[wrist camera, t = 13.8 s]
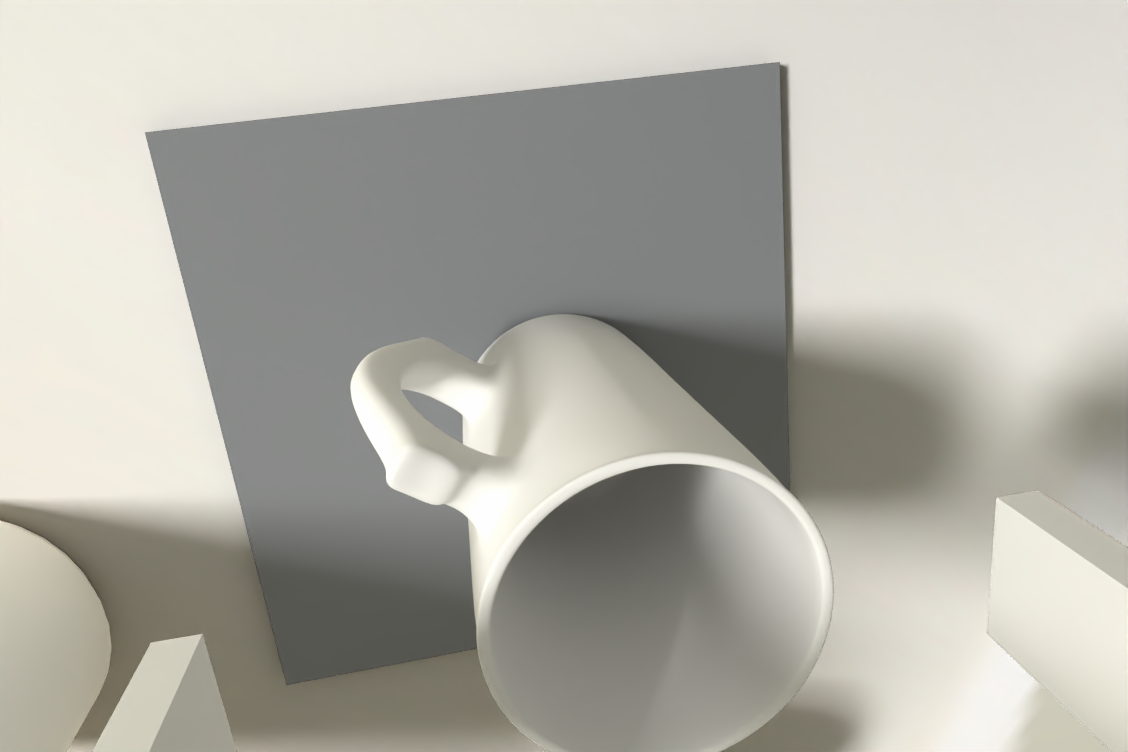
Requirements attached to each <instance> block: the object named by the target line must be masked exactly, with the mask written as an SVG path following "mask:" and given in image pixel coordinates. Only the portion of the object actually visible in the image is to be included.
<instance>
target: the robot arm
mask: <svg viewBox="0 0 1128 752" xmlns="http://www.w3.org/2000/svg"><path fill="white" fill-rule="evenodd" d="M987 634H988V635H989V636H990V637H991V638H992V639H993V640H994V641H995V642H996V643H997V644H998V645H999V646H1000V647H1001V648H1003V649H1004V650H1005V651H1006V652H1007V653H1008V654H1009V655H1010V656H1011V657H1012V658H1013V659H1014V660H1015V661H1016V662H1017V663H1018V664H1019V665H1020V666H1021V667H1022V668H1023V669H1024V670H1025V671H1027V672H1028V673H1029V674H1030V675H1031V676H1032V677H1033V678H1034V679H1035V680H1036V681H1037V682H1038V683H1039V684H1040V685H1041V686H1042V687H1043V688H1044V689H1045V690H1046V691H1047V692H1048V693H1050V694H1051V695H1052V696H1053V697H1054V698H1055V699H1056V700H1057V701H1058V702H1059V703H1060V704H1061V705H1062V706H1063V707H1064V708H1065V709H1066V710H1067V711H1068V712H1069V713H1070V714H1072V715H1073V717H1075V718H1076V719H1077V720H1078V721H1079V722H1080V723H1081V724H1082V725H1083V726H1084V727H1085V728H1086V729H1087V730H1088V731H1090V733H1091V734H1092V735H1093V736H1094V737H1095V738H1096V739H1098V740H1099V741H1100V742H1101V743H1102V744H1103V745H1104V746H1105V747H1106V748H1107V749H1108V750H1109V751H1110V752H1128V547H1127V546H1125V545H1124V544H1122V543H1121V542H1119V541H1117V540H1116V539H1114V538H1113V537H1111V536H1110V535H1108V534H1106V533H1105V532H1103V531H1102V530H1100V529H1099V528H1097V527H1095V526H1094V525H1092V524H1091V523H1089V522H1088V521H1086V520H1084V519H1083V518H1081V517H1080V516H1078V515H1077V514H1075V513H1073V512H1072V511H1070V510H1069V509H1067V508H1066V507H1064V506H1062V505H1061V504H1059V503H1058V502H1056V501H1055V500H1053V499H1051V498H1050V497H1048V496H1047V495H1045V494H1044V493H1042V492H1040V491H1039V490H1035V491H1029V492H1023V493H1018V494H1012V495H1006V496H1000V497H996V510H995V524H994V538H993V553H992V567H991V581H990V596H989V610H988V624H987ZM92 752H237V750H236V746H235V743H234V739H233V736H232V732H231V729H230V726H229V722H228V719H227V715H226V712H225V709H224V705H223V702H222V698H221V695H220V692H219V688H218V685H217V681H216V678H215V674H214V671H213V668H212V664H211V661H210V657H209V654H208V651H207V647H206V644H205V640H204V637H203V634H198V635H192V636H186V637H180V638H174V639H169V640H163V641H157V642H151V643H150V645H149V647H148V649H147V651H146V653H145V655H144V656H143V658H142V660H141V662H140V664H139V666H138V667H137V669H136V671H135V673H134V675H133V677H132V679H131V680H130V682H129V684H128V686H127V688H126V690H125V691H124V693H123V695H122V697H121V699H120V701H119V703H118V704H117V706H116V708H115V710H114V712H113V714H112V715H111V717H110V719H109V721H108V723H107V725H106V727H105V728H104V730H103V732H102V734H101V736H100V738H99V739H98V741H97V743H96V745H95V747H94V749H93V751H92Z"/></svg>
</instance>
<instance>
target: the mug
mask: <svg viewBox="0 0 1128 752" xmlns="http://www.w3.org/2000/svg"><path fill="white" fill-rule="evenodd" d="M350 389H351V397H352V402H353V405H354V408H355V411H356V414H357V416H358V418H359V420H360V423H361V425H362V427H363V429H364V431H365V432H366V434H367V436H368V438H369V440H370V441H371V443H372V445H373V446H374V448H375V450H376V451H377V453H378V455H379V456H380V458H381V460H382V462H383V464H384V466H385V469H386V481H387V483H388V485H389V486H390V487H391V488H393V489H395V490H397V491H399V492H402V493H404V494H407V495H409V496H411V497H414V498H416V499H418V500H421V501H423V502H426V503H429V504H433V505H441V504H446V505H448V506H451V507H453V508H455V509H457V510H458V511H460V512H462V513H463V514H464V515H465V516H466V517H468V524H469V540H470V557H471V573H472V587H473V600H474V612H475V621H476V637H477V649H478V656H479V661H480V665H481V669H482V672H483V675H484V678H485V681H486V683H487V686H488V688H489V690H490V692H491V694H492V696H493V698H494V700H495V701H496V703H497V705H498V706H499V708H500V709H501V711H502V712H503V713H504V715H505V716H506V717H507V718H508V719H509V721H510V722H511V723H512V724H513V725H514V726H515V727H516V728H517V729H518V730H519V731H520V732H521V733H522V734H524V735H525V736H526V737H527V738H529V739H530V740H531V741H533V742H534V743H535V744H537V745H538V746H540V747H542V748H543V749H545V750H547V751H548V752H721V751H723V750H725V749H727V748H729V747H731V746H733V745H734V744H736V743H738V742H740V741H741V740H743V739H745V738H746V737H748V736H749V735H751V734H752V733H754V732H755V731H757V730H758V729H759V728H761V727H762V726H763V725H765V724H766V723H767V722H768V721H769V720H771V719H772V718H773V717H774V716H775V715H776V714H777V713H778V712H779V711H781V710H782V709H783V708H784V707H785V706H786V704H787V703H788V702H789V701H790V700H791V699H792V698H793V697H794V696H795V694H796V693H797V692H798V691H799V689H800V688H801V686H802V685H803V684H804V682H805V681H806V679H807V678H808V676H809V674H810V673H811V671H812V669H813V667H814V665H815V663H816V661H817V659H818V657H819V655H820V653H821V650H822V648H823V645H824V642H825V639H826V636H827V633H828V629H829V625H830V621H831V615H832V608H833V593H834V588H833V574H832V567H831V563H830V558H829V554H828V551H827V548H826V545H825V542H824V540H823V538H822V535H821V533H820V531H819V529H818V527H817V526H816V524H815V522H814V521H813V519H812V517H811V516H810V514H809V513H808V512H807V510H806V509H805V508H804V506H803V505H802V504H801V503H800V502H799V501H798V499H797V498H796V497H795V496H794V495H793V494H792V493H791V492H789V491H788V490H787V489H786V488H785V487H784V486H783V485H782V484H781V483H780V482H779V481H778V479H777V478H776V477H775V476H774V475H773V474H772V473H771V472H770V471H769V470H768V469H767V468H766V467H765V466H764V465H763V464H762V463H761V462H760V461H759V460H758V459H757V458H756V457H755V456H754V455H753V454H752V453H751V452H750V451H749V450H748V449H747V448H746V447H745V446H744V445H742V444H741V443H740V442H739V441H738V440H737V439H736V438H735V437H734V436H733V435H732V434H731V433H730V432H729V431H728V430H726V429H725V428H724V427H723V426H722V425H721V424H720V423H719V422H718V421H717V420H716V419H715V418H714V417H713V416H712V415H710V414H709V413H708V412H707V411H706V410H705V409H704V408H703V407H702V406H701V405H700V404H699V403H698V402H697V401H695V400H694V399H693V398H692V397H691V396H690V395H689V394H688V393H687V392H686V391H685V390H684V389H683V388H682V387H681V386H680V385H678V384H677V383H676V382H675V381H674V380H673V379H672V378H671V377H670V376H669V375H668V374H667V373H666V372H665V371H664V370H663V369H662V368H661V367H660V366H659V365H658V364H657V363H656V362H655V361H654V360H653V359H651V358H650V357H649V356H648V355H647V354H646V353H645V352H644V351H643V350H642V349H641V348H639V347H638V346H637V345H636V344H635V343H633V342H632V341H631V340H630V339H629V338H627V337H626V336H625V335H624V334H622V333H621V332H620V331H618V330H617V329H615V328H614V327H612V326H610V325H608V324H606V323H604V322H602V321H599V320H596V319H593V318H590V317H586V316H581V315H573V314H555V315H547V316H542V317H538V318H534V319H531V320H528V321H526V322H523V323H521V324H519V325H517V326H515V327H513V328H512V329H510V330H508V331H507V332H505V333H504V334H503V335H501V336H500V337H499V338H498V339H496V340H495V341H494V342H493V343H492V344H491V345H490V346H489V347H488V348H487V349H486V351H485V352H484V353H483V354H482V356H481V357H480V358H479V360H478V361H477V362H475V361H473V360H471V359H469V358H467V357H465V356H463V355H461V354H460V353H458V352H456V351H454V350H452V349H451V348H449V347H447V346H445V345H444V344H442V343H440V342H438V341H436V340H433V339H431V338H425V337H422V338H418V339H414V340H410V341H405V342H401V343H397V344H392V345H388V346H385V347H382V348H379V349H377V350H375V351H373V352H371V353H370V354H368V355H367V356H366V357H365V358H364V359H363V360H362V361H361V362H360V364H359V365H358V367H357V368H356V370H355V372H354V374H353V377H352V380H351V387H350ZM402 390H410V391H415V392H419V393H422V394H425V395H427V396H430V397H432V398H434V399H436V400H438V401H440V402H442V403H444V404H446V405H448V406H450V407H452V408H453V409H455V410H457V411H458V412H459V413H460V414H462V416H463V444H462V443H461V442H459V441H457V440H455V439H454V438H452V437H450V436H448V435H447V434H445V433H444V432H443V431H441V430H440V429H438V428H437V427H436V426H434V425H433V424H431V423H430V422H429V421H428V420H427V419H425V418H424V417H423V416H422V415H421V414H420V413H419V412H418V411H417V410H416V409H415V408H414V407H413V406H412V405H411V404H410V403H409V401H408V400H407V399H406V397H405V396H404V394H403V392H402Z"/></svg>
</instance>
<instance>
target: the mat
mask: <svg viewBox="0 0 1128 752" xmlns="http://www.w3.org/2000/svg"><path fill="white" fill-rule="evenodd" d="M145 135H146V138H147V142H148V146H149V150H150V154H151V158H152V162H153V166H154V170H155V173H156V177H157V181H158V185H159V189H160V193H161V197H162V201H163V205H164V209H165V212H166V216H167V220H168V224H169V228H170V232H171V236H172V240H173V244H174V248H175V251H176V255H177V259H178V263H179V267H180V271H181V275H182V279H183V283H184V287H185V290H186V294H187V298H188V302H189V306H190V310H191V314H192V318H193V322H194V326H195V329H196V333H197V337H198V341H199V345H200V349H201V353H202V357H203V361H204V365H205V368H206V372H207V376H208V380H209V384H210V388H211V392H212V396H213V400H214V403H215V407H216V411H217V415H218V419H219V423H220V427H221V431H222V435H223V439H224V442H225V446H226V450H227V454H228V458H229V462H230V466H231V470H232V474H233V478H234V481H235V485H236V489H237V493H238V497H239V501H240V505H241V509H242V513H243V517H244V520H245V524H246V528H247V532H248V536H249V540H250V544H251V548H252V552H253V556H254V559H255V563H256V567H257V571H258V575H259V579H260V583H261V587H262V591H263V595H264V598H265V602H266V606H267V610H268V614H269V618H270V622H271V626H272V630H273V633H274V637H275V641H276V645H277V649H278V653H279V657H280V661H281V665H282V669H283V672H284V676H285V680H286V684H287V685H289V684H294V683H299V682H305V681H310V680H315V679H320V678H325V677H331V676H336V675H341V674H346V673H352V672H357V671H362V670H367V669H373V668H378V667H383V666H388V665H393V664H399V663H404V662H409V661H414V660H420V659H425V658H430V657H435V656H440V655H446V654H451V653H456V652H461V651H467V650H472V649H477V637H476V621H475V612H474V600H473V587H472V573H471V557H470V540H469V524H468V517H466V516H465V515H464V514H463V513H462V512H460V511H458V510H457V509H455V508H453V507H451V506H448V505H446V504H441V505H433V504H429V503H426V502H423V501H421V500H418V499H416V498H414V497H411V496H409V495H407V494H404V493H402V492H399V491H397V490H395V489H393V488H391V487H390V486H389V485H388V483H387V481H386V469H385V466H384V464H383V462H382V460H381V458H380V456H379V455H378V453H377V451H376V450H375V448H374V446H373V445H372V443H371V441H370V440H369V438H368V436H367V434H366V432H365V431H364V429H363V427H362V425H361V423H360V420H359V418H358V416H357V414H356V411H355V408H354V405H353V402H352V397H351V389H350V387H351V380H352V377H353V374H354V372H355V370H356V368H357V367H358V365H359V364H360V362H361V361H362V360H363V359H364V358H365V357H366V356H367V355H368V354H370V353H371V352H373V351H375V350H377V349H379V348H382V347H385V346H388V345H392V344H397V343H401V342H405V341H410V340H414V339H418V338H422V337H425V338H431V339H433V340H436V341H438V342H440V343H442V344H444V345H445V346H447V347H449V348H451V349H452V350H454V351H456V352H458V353H460V354H461V355H463V356H465V357H467V358H469V359H471V360H473V361H475V362H477V361H478V360H479V358H480V357H481V356H482V354H483V353H484V352H485V351H486V349H487V348H488V347H489V346H490V345H491V344H492V343H493V342H494V341H495V340H496V339H498V338H499V337H500V336H501V335H503V334H504V333H505V332H507V331H508V330H510V329H512V328H513V327H515V326H517V325H519V324H521V323H523V322H526V321H528V320H531V319H534V318H538V317H542V316H547V315H555V314H573V315H581V316H586V317H590V318H593V319H596V320H599V321H602V322H604V323H606V324H608V325H610V326H612V327H614V328H615V329H617V330H618V331H620V332H621V333H622V334H624V335H625V336H626V337H627V338H629V339H630V340H631V341H632V342H633V343H635V344H636V345H637V346H638V347H639V348H641V349H642V350H643V351H644V352H645V353H646V354H647V355H648V356H649V357H650V358H651V359H653V360H654V361H655V362H656V363H657V364H658V365H659V366H660V367H661V368H662V369H663V370H664V371H665V372H666V373H667V374H668V375H669V376H670V377H671V378H672V379H673V380H674V381H675V382H676V383H677V384H678V385H680V386H681V387H682V388H683V389H684V390H685V391H686V392H687V393H688V394H689V395H690V396H691V397H692V398H693V399H694V400H695V401H697V402H698V403H699V404H700V405H701V406H702V407H703V408H704V409H705V410H706V411H707V412H708V413H709V414H710V415H712V416H713V417H714V418H715V419H716V420H717V421H718V422H719V423H720V424H721V425H722V426H723V427H724V428H725V429H726V430H728V431H729V432H730V433H731V434H732V435H733V436H734V437H735V438H736V439H737V440H738V441H739V442H740V443H741V444H742V445H744V446H745V447H746V448H747V449H748V450H749V451H750V452H751V453H752V454H753V455H754V456H755V457H756V458H757V459H758V460H759V461H760V462H761V463H762V464H763V465H764V466H765V467H766V468H767V469H768V470H769V471H770V472H771V473H772V474H773V475H774V476H775V477H776V478H777V479H778V481H779V482H780V483H781V484H782V485H783V486H784V487H785V488H786V489H787V490H788V491H789V492H790V476H789V434H788V392H787V351H786V309H785V267H784V226H783V184H782V143H781V101H780V62H777V63H768V64H759V65H750V66H741V67H732V68H723V69H714V70H705V71H695V72H686V73H677V74H668V75H659V76H650V77H641V78H632V79H623V80H614V81H605V82H596V83H587V84H578V85H569V86H560V87H551V88H542V89H533V90H524V91H515V92H506V93H497V94H488V95H479V96H470V97H461V98H452V99H443V100H434V101H425V102H416V103H407V104H398V105H389V106H380V107H371V108H362V109H353V110H344V111H335V112H326V113H317V114H308V115H299V116H290V117H281V118H271V119H262V120H253V121H244V122H235V123H226V124H217V125H208V126H199V127H190V128H181V129H172V130H163V131H154V132H145ZM402 392H403V394H404V396H405V397H406V399H407V400H408V401H409V403H410V404H411V405H412V406H413V407H414V408H415V409H416V410H417V411H418V412H419V413H420V414H421V415H422V416H423V417H424V418H425V419H427V420H428V421H429V422H430V423H431V424H433V425H434V426H436V427H437V428H438V429H440V430H441V431H443V432H444V433H445V434H447V435H448V436H450V437H452V438H454V439H455V440H457V441H459V442H461V443H462V444H463V416H462V414H460V413H459V412H458V411H457V410H455V409H453V408H452V407H450V406H448V405H446V404H444V403H442V402H440V401H438V400H436V399H434V398H432V397H430V396H427V395H425V394H422V393H419V392H415V391H410V390H402Z"/></svg>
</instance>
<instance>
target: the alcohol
mask: <svg viewBox="0 0 1128 752" xmlns="http://www.w3.org/2000/svg"><path fill="white" fill-rule="evenodd" d="M111 649H112V647H111V638H110V629H109V623H108V620H107V618H106V615H105V612H104V609H103V607H102V604H101V601H100V599H99V597H98V596H97V594H96V592H95V590H94V589H93V587H92V586H91V584H90V582H89V581H88V579H87V578H86V576H85V575H84V573H83V571H82V570H81V569H80V568H79V567H78V566H77V565H76V564H75V563H74V562H73V561H72V560H71V559H70V558H69V557H68V556H67V555H66V553H64V552H63V551H61V550H60V549H59V548H57V547H56V546H55V545H53V544H52V543H50V542H49V541H48V540H46V539H45V538H43V537H41V536H39V535H37V534H35V533H33V532H31V531H29V530H27V529H25V528H23V527H21V526H18V525H14V524H11V523H8V522H5V521H1V520H0V752H67V750H68V748H69V747H70V745H71V743H72V741H73V740H74V738H75V736H76V734H77V733H78V731H79V729H80V727H81V725H82V724H83V722H84V720H85V718H86V717H87V715H88V713H89V711H90V710H91V708H92V706H93V704H94V703H95V701H96V699H97V697H98V695H99V694H100V691H101V689H102V686H103V684H104V681H105V679H106V676H107V674H108V671H109V664H110V657H111Z"/></svg>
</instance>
